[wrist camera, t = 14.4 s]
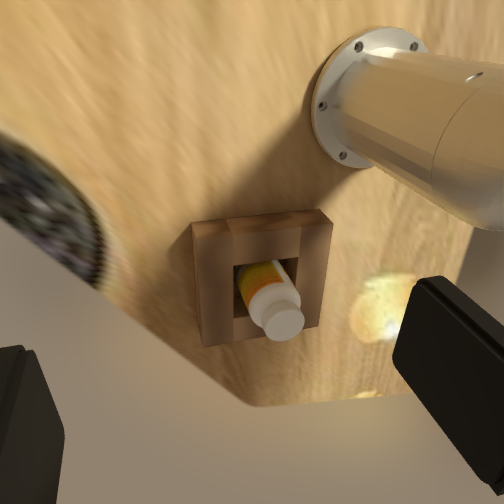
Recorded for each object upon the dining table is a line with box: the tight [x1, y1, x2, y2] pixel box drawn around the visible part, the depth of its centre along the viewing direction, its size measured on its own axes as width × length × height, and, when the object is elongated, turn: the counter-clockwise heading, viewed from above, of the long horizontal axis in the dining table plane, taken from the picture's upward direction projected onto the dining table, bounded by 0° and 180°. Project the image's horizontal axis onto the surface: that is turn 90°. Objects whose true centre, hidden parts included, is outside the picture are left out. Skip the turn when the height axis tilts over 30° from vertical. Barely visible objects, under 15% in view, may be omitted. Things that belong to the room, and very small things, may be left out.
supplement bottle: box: [234, 260, 305, 341], centre depth 40 cm, size 5×5×10 cm
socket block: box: [191, 209, 333, 348], centre depth 43 cm, size 14×14×4 cm
